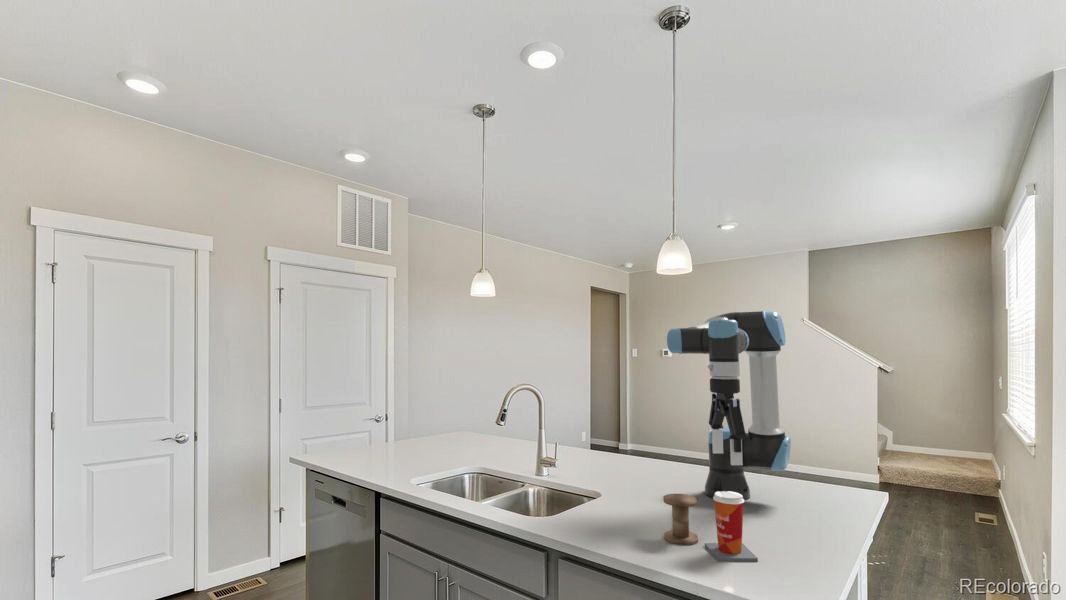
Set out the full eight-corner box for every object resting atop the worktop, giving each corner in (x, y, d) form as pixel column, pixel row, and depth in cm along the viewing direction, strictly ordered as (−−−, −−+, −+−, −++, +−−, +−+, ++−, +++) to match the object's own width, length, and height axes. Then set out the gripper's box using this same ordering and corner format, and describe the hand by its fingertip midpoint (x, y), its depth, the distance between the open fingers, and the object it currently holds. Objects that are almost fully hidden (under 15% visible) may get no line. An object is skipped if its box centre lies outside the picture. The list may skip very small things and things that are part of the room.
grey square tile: (742, 546, 143) (742, 543, 143) (757, 561, 133) (757, 558, 133) (704, 546, 143) (704, 543, 143) (717, 561, 133) (717, 558, 133)
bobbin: (692, 533, 153) (691, 493, 153) (702, 545, 144) (701, 503, 144) (660, 533, 153) (660, 493, 153) (668, 545, 144) (667, 503, 144)
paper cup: (709, 544, 142) (708, 490, 143) (737, 543, 142) (735, 489, 143) (722, 556, 134) (720, 499, 135) (751, 555, 135) (750, 498, 136)
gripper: (696, 374, 156) (698, 448, 154) (727, 381, 131) (730, 470, 129) (722, 374, 156) (724, 448, 154) (758, 381, 131) (761, 470, 129)
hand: (726, 458), depth 142 cm, fingers open, 13 cm apart
